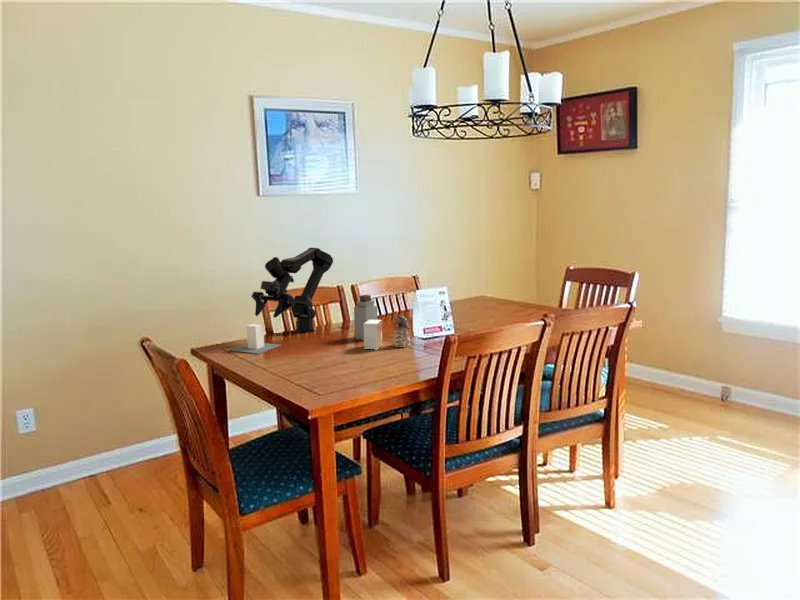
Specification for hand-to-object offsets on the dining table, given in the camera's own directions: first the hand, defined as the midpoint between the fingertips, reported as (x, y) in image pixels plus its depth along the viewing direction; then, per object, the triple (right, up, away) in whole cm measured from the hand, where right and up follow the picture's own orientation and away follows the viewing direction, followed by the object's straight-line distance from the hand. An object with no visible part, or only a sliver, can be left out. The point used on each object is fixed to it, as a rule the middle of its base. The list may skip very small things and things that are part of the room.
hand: (265, 316), depth 254 cm
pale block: (-3, -12, -4) cm, 13 cm away
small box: (+44, -12, -7) cm, 46 cm away
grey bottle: (+40, -10, +9) cm, 42 cm away
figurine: (+55, -12, -5) cm, 56 cm away
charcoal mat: (-3, -13, -4) cm, 13 cm away
